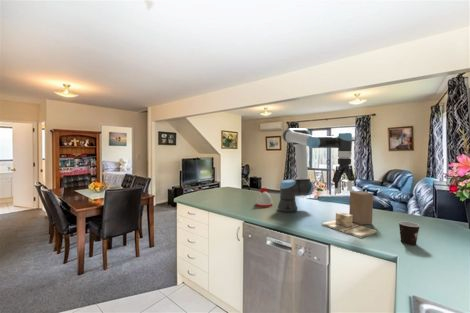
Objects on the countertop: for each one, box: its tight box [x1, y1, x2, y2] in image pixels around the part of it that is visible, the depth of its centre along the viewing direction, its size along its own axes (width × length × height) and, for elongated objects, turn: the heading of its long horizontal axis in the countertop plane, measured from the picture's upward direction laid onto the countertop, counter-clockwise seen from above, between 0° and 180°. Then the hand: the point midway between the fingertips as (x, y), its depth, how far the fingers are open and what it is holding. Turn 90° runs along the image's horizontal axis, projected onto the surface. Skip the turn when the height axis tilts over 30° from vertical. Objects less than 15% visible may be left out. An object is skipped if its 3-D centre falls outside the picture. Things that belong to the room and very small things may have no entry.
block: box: [348, 190, 374, 226], centre depth 154 cm, size 10×10×20 cm
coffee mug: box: [398, 220, 420, 247], centre depth 121 cm, size 12×9×10 cm
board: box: [321, 218, 377, 239], centre depth 142 cm, size 25×16×1 cm, turn 34°
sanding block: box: [335, 211, 353, 228], centre depth 145 cm, size 8×5×7 cm, turn 33°
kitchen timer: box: [255, 187, 273, 208], centre depth 198 cm, size 14×14×15 cm
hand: (343, 192), depth 144 cm, fingers open, 13 cm apart
